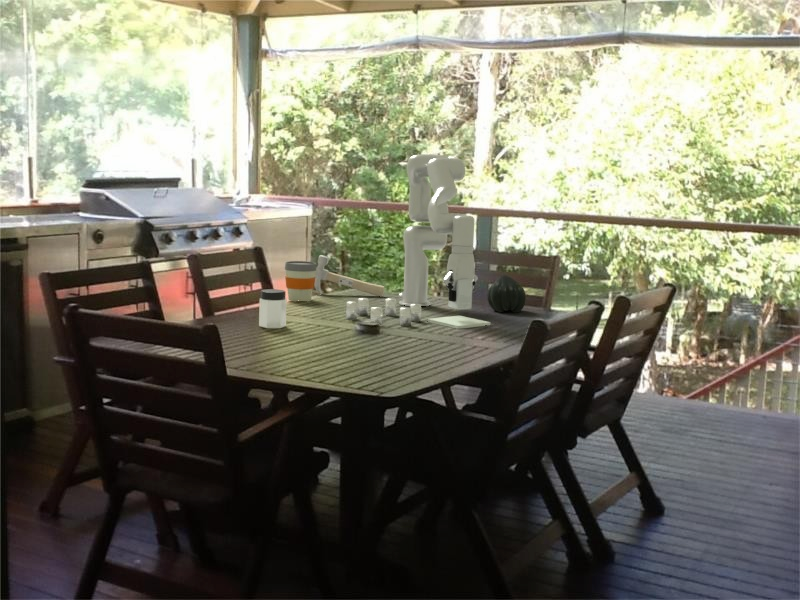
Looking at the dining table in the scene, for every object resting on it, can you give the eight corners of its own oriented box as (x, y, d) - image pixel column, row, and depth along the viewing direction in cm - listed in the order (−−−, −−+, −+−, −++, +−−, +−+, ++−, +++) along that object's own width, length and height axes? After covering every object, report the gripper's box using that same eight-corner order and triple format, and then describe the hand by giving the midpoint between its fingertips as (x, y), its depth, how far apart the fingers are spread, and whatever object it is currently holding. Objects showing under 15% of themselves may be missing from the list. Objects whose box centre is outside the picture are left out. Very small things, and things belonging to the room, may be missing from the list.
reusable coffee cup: (295, 303, 354) (296, 265, 352) (278, 298, 363) (278, 261, 361) (321, 301, 362) (322, 263, 360) (304, 296, 371) (305, 260, 369)
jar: (284, 324, 307) (285, 289, 306) (287, 328, 300) (288, 292, 298) (257, 324, 305) (258, 288, 303) (260, 328, 297) (260, 292, 296)
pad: (427, 321, 324) (427, 318, 324) (459, 318, 334) (459, 315, 334) (457, 328, 312) (458, 326, 312) (490, 325, 322) (490, 322, 322)
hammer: (388, 273, 382) (320, 254, 382) (387, 275, 377) (318, 255, 378) (378, 309, 384) (310, 289, 385) (377, 310, 379) (308, 291, 380)
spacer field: (335, 316, 328) (335, 299, 327) (382, 311, 342) (383, 296, 341) (384, 328, 306) (384, 311, 306) (432, 323, 321) (433, 306, 320)
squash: (525, 302, 344) (526, 270, 353) (485, 301, 347) (487, 269, 355) (525, 322, 356) (526, 290, 364) (487, 321, 358) (489, 289, 367)
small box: (471, 309, 320) (473, 279, 318) (457, 309, 318) (458, 280, 316) (461, 306, 327) (463, 277, 326) (447, 306, 325) (449, 277, 323)
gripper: (472, 248, 328) (469, 297, 330) (436, 250, 317) (434, 300, 319) (487, 250, 322) (484, 300, 325) (451, 252, 311) (449, 303, 314)
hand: (459, 300), depth 322 cm, fingers closed on small box, 6 cm apart
